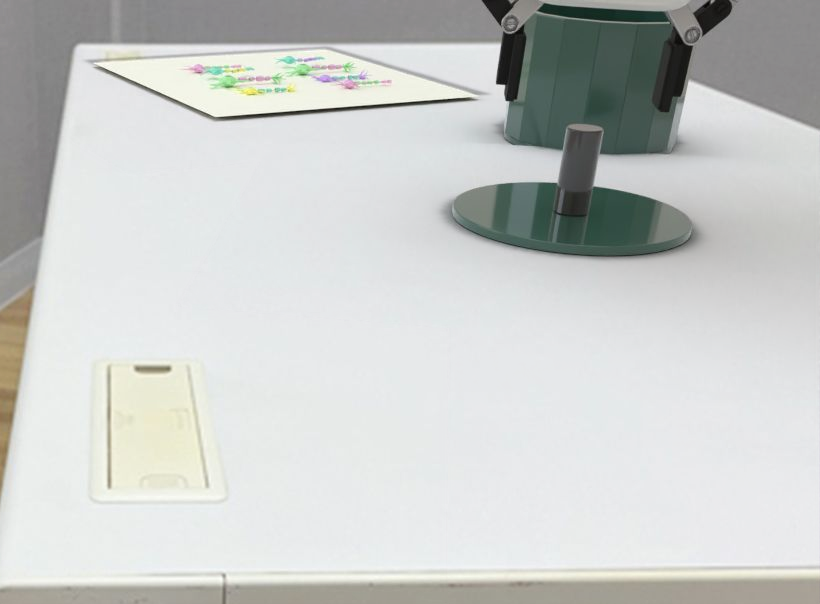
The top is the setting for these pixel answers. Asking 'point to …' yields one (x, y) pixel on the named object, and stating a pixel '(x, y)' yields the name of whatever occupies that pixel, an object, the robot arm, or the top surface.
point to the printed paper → (278, 82)
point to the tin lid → (573, 209)
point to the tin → (594, 80)
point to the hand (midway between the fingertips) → (584, 102)
